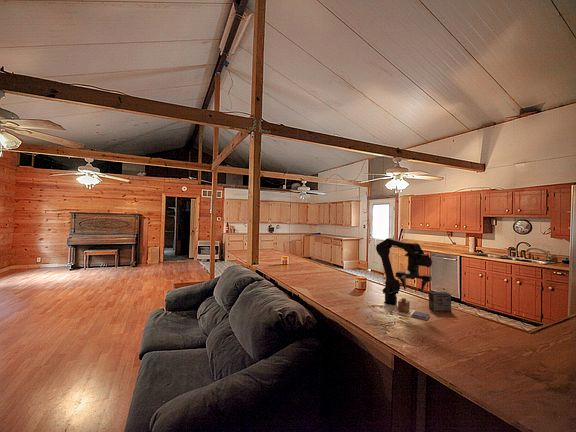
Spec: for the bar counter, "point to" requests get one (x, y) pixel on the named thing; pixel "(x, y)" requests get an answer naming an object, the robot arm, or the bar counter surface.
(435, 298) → the small box
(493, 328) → the bar counter surface
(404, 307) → the stamp
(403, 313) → the print sheet
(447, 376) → the bar counter surface
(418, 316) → the ink pad
